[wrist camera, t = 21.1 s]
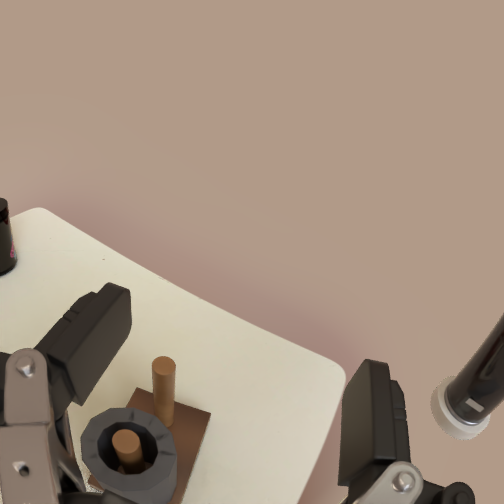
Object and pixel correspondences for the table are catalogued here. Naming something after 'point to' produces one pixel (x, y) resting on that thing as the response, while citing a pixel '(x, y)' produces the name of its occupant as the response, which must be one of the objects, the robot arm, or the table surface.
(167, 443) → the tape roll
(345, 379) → the table surface
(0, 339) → the table surface
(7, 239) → the supplement container
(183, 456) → the rack
